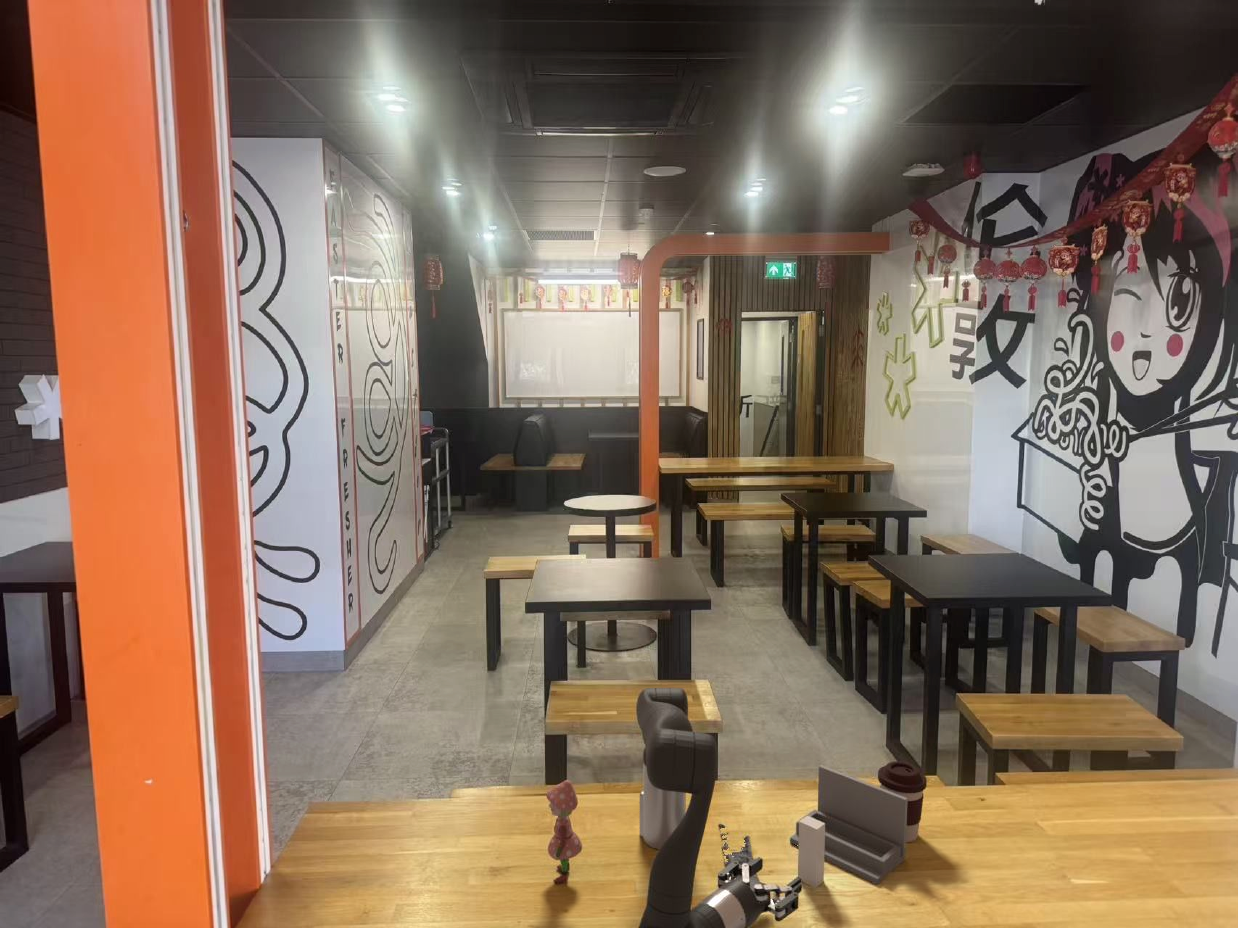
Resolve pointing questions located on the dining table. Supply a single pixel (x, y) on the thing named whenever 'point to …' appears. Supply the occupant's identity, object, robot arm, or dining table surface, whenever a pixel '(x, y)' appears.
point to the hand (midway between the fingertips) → (779, 872)
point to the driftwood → (739, 854)
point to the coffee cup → (905, 791)
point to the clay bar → (811, 851)
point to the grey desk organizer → (860, 825)
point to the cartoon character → (563, 827)
